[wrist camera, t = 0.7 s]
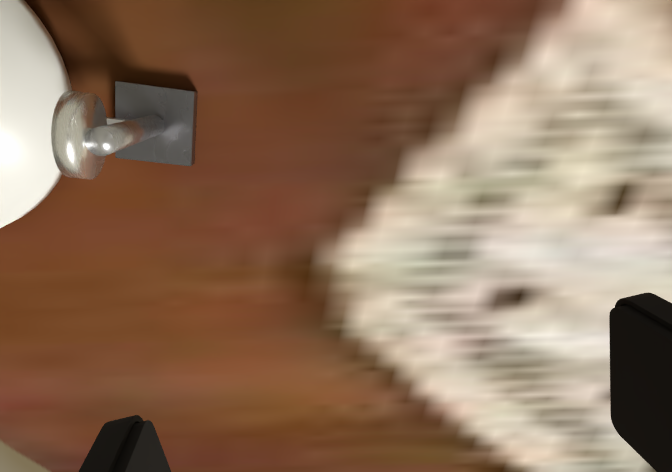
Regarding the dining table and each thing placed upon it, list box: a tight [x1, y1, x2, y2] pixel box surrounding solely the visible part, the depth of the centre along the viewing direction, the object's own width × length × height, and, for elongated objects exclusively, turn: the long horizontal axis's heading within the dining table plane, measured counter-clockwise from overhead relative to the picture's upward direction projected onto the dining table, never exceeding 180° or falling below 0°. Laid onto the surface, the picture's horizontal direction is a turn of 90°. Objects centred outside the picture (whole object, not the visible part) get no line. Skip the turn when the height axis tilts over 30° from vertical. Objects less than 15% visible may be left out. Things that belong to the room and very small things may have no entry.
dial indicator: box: [51, 81, 197, 179], centre depth 32 cm, size 6×8×14 cm
